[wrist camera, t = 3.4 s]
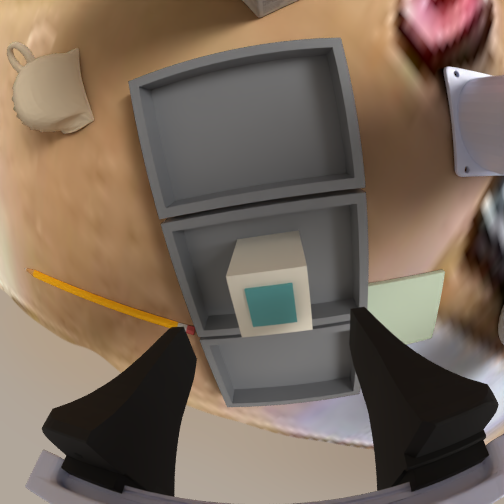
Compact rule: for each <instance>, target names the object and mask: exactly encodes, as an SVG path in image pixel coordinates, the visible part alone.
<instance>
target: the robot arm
mask: <svg viewBox="0 0 504 504" xmlns="http://www.w3.org/2000/svg"><path fill="white" fill-rule="evenodd" d="M443 72H444V78H445V83H446V88H447V94H448V100H449V107H450V115H451V123H452V133H453V145H454V164H455V173H456V174H457V175H458V176H460V177H471V176H504V75H499V76H492V75H488V74H484V73H479V72H475V71H470V70H465V69H460V68H455V67H445V68H444V70H443ZM454 72H455V73H456V76H455V75H454ZM465 167H466V168H467V170H466V172H465ZM349 346H350V351H351V356H352V361H353V365H354V368H355V371H356V374H357V377H358V380H359V383H360V386H361V389H362V393H363V396H364V399H365V402H366V405H367V409H368V413H369V419H370V424H371V430H372V437H373V444H374V452H375V462H376V475H377V491H375V492H370V493H366V494H361V495H356V496H351V497H346V498H339V499H333V500H325V501H318V502H308V503H295V504H493V503H494V502H496V501H497V500H499V499H501V498H502V497H504V434H503V435H501V436H499V437H497V438H496V439H494V440H492V441H491V442H490V443H488V444H487V445H486V446H485V443H484V441H483V440H484V439H485V438H486V434H485V432H484V430H483V429H484V428H485V427H486V425H487V424H488V423H489V421H490V420H491V419H492V417H493V416H494V414H495V413H496V411H497V408H498V402H497V400H496V398H495V396H494V394H493V392H492V391H491V389H490V388H489V386H488V385H487V384H484V383H481V382H477V381H474V380H471V379H468V378H465V377H462V376H460V375H457V374H455V373H452V372H450V371H448V370H446V369H444V368H442V367H440V366H438V365H436V364H434V363H432V362H431V361H429V360H427V359H426V358H424V357H423V356H421V355H420V354H418V353H417V352H415V351H414V350H412V349H411V348H409V347H408V346H407V345H406V344H404V343H403V342H402V341H401V340H399V339H398V338H397V337H396V336H395V335H394V334H393V333H391V332H390V331H389V330H388V329H387V328H386V327H385V326H384V325H383V324H382V323H381V322H380V321H379V320H378V319H377V318H376V317H374V316H373V315H372V314H371V313H370V311H369V310H367V309H366V308H365V307H359V308H353V309H350V338H349ZM196 361H197V358H196V356H195V353H194V351H193V349H192V346H191V344H190V341H189V339H188V336H187V333H186V331H185V328H184V326H183V327H171V328H170V329H169V330H168V331H167V332H166V333H164V334H163V335H162V336H161V337H160V338H159V339H158V340H157V341H156V342H155V343H154V344H153V345H152V346H151V347H150V348H149V349H148V350H147V351H146V352H145V353H144V354H143V355H142V356H141V357H140V358H139V359H137V360H136V361H135V362H134V363H133V364H132V365H131V366H129V367H128V368H127V369H126V370H125V371H123V372H122V373H121V374H120V375H118V376H117V377H116V378H114V379H113V380H111V381H110V382H108V383H107V384H105V385H104V386H102V387H100V388H99V389H97V390H95V391H94V392H92V393H90V394H88V395H87V396H84V397H82V398H80V399H78V400H75V401H73V402H71V403H68V404H65V405H62V406H60V407H57V408H54V409H52V411H51V413H50V414H49V416H48V418H47V420H46V422H45V423H44V425H43V427H42V430H43V433H44V434H45V436H46V437H47V438H48V439H49V440H50V441H51V442H52V443H53V444H54V445H55V446H57V447H58V448H59V449H60V450H61V451H62V452H63V453H64V454H65V455H67V456H66V458H65V460H64V459H62V458H61V457H59V456H57V455H55V454H53V453H50V452H48V451H46V450H43V451H42V453H41V455H40V457H39V459H38V461H37V463H36V465H35V467H34V469H33V471H32V473H31V475H30V477H29V479H28V481H27V483H26V488H27V489H28V490H30V491H31V492H33V493H35V494H36V495H38V496H39V497H41V498H42V499H44V500H46V501H47V502H49V503H50V504H229V503H216V502H206V501H198V500H190V499H184V498H178V497H174V481H175V479H174V476H175V463H176V452H177V444H178V437H179V431H180V425H181V421H182V417H183V413H184V410H185V406H186V403H187V400H188V397H189V393H190V390H191V387H192V383H193V380H194V375H195V369H196Z"/></svg>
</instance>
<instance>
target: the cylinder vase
mask: <svg viewBox="0 0 504 504" xmlns="http://www.w3.org/2000/svg"><path fill="white" fill-rule="evenodd" d="M498 334H499V338H500V341H501V342H502V344H503V345H504V305H503V307H502V310H501V314H500V318H499V323H498Z"/></svg>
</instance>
